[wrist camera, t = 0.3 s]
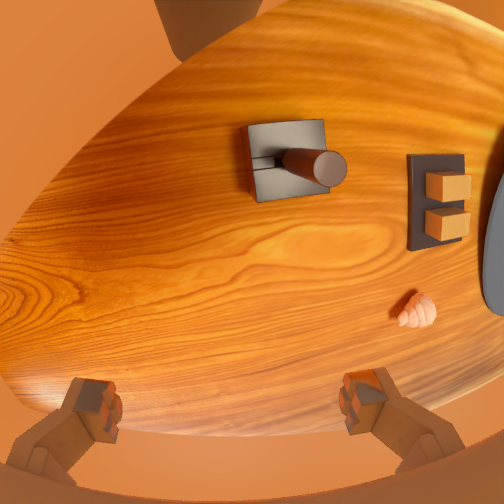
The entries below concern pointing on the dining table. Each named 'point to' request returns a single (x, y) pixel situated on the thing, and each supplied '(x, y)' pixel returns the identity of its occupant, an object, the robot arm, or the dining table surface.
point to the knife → (315, 165)
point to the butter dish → (437, 200)
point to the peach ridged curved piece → (417, 312)
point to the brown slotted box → (278, 143)
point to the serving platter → (495, 254)
